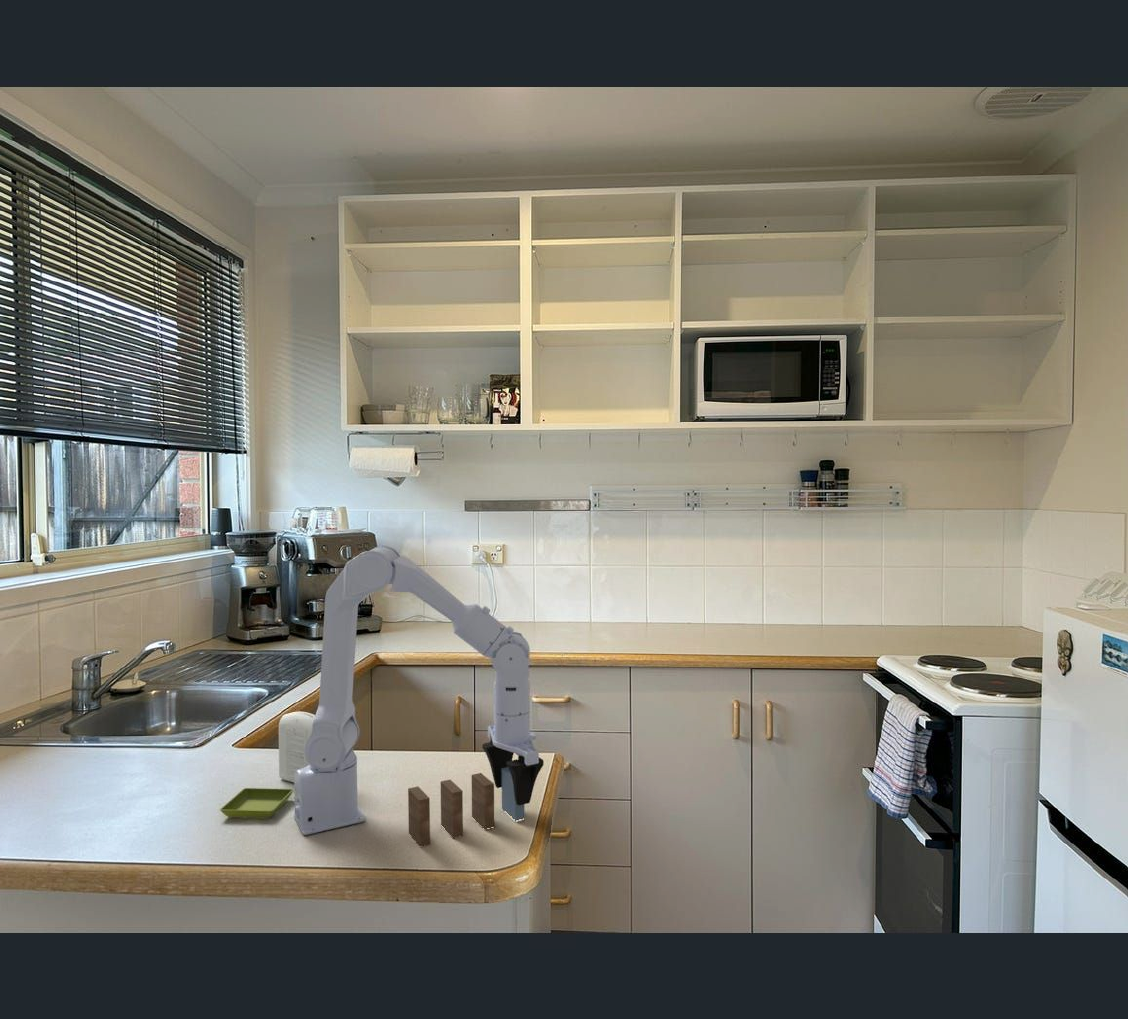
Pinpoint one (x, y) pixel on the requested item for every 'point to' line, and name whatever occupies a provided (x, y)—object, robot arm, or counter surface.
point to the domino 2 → (452, 808)
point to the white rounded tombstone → (293, 742)
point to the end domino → (510, 797)
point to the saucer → (256, 802)
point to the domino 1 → (419, 816)
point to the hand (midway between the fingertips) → (512, 794)
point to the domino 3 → (483, 800)
